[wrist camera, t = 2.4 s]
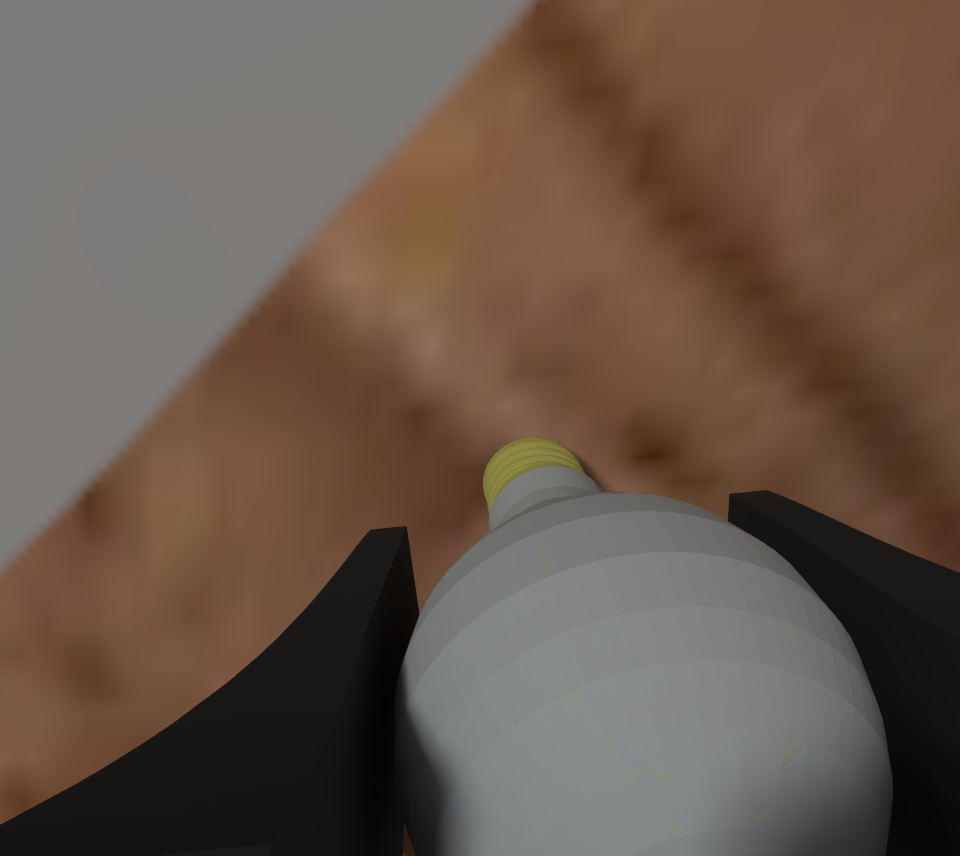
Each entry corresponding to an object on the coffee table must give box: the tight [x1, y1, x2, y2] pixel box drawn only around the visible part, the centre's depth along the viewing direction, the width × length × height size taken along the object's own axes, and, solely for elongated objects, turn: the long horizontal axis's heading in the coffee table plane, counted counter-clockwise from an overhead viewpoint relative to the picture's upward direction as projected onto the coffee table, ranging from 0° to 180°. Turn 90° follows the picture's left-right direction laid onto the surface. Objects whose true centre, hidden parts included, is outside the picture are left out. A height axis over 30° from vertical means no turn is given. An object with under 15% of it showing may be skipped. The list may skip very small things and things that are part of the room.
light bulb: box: [393, 437, 893, 856], centre depth 10 cm, size 6×6×10 cm
